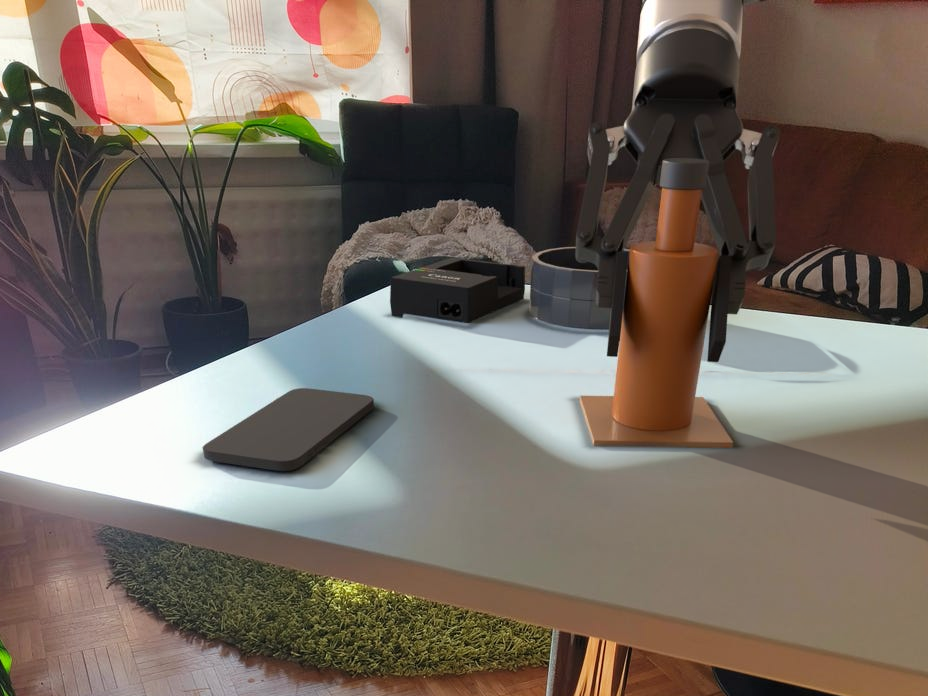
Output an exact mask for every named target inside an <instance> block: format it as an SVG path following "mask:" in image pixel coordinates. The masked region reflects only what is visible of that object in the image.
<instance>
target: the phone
mask: <svg viewBox="0 0 928 696" xmlns="http://www.w3.org/2000/svg"><path fill="white" fill-rule="evenodd" d="M374 408H375V399H374V397H372V396H370V395H367V394H359V393H351V392H344V391H343V392H342V391H334V390H326V389H316V388H307V387H299V388H298V387H297V388H293V389H290V390H289V391H287V392H285V393H284V394H282V395H281V396H279V397H277V398H276V399H275V400H273V401H271V402H270V403H268V404H267V405H265V406H263V407H262V408H260V409H259V410H257V411H256V412H254V413H252V414H250V415H249V416H247V417H246V418H244V419H243V420H241V421H240V422H237V423H236V424H234V425H233V426H231V427H230V428H228V429H227V430H226V431H224V432H222V433H220V434H219V435H217V436H215V437H214V438H212V439H211V440H209V441H208V442H207V443H205V444H204V445H203V446H202V453H203V458H204V459H205V460H208V461H209V462H214V463H220V464H221V463H222V464H229V465H236V466H242V467H250V468H256V469H263V470H271V471H280V472H289V471H294V470H297V469H299V468H300V467H302V466H303V465H304V464H306V463H307V462H309V460H311V459H312V458H314V456H316V455H317V454H318V453H319V452H321V451H322V450H323V449H325V448H326V447H327V446H328V445H330V444H331V443H332V442H333V441H335V440H336V439H337V438H339V437H340V436H341V435H342V434H343V433H345V432H346V431H348V429H350V428H351V427H353V425H354V424H357V422H359V421H360V420H362V418H364V417H365V416H366V415H367V414H369V413H370V412H371V411H373V409H374Z"/></svg>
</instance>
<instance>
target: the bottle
mask: <svg viewBox="0 0 928 696" xmlns="http://www.w3.org/2000/svg"><path fill="white" fill-rule="evenodd" d="M708 167H709V161H708V160H704V159H694V158H669V159H664V160H663V162H662V170H661V178H660V185H659V187H660V188H661V195H660V202H659V203H660V204H659V213H658V220H657V229H656V237H655V240H652V241H651V240H650V241H641V242H636V243H633V244H631V245H630V247H629V250H630V252H629V261H628V271H627V280H626V289H625V298H624V307H623V316H622V325H621V335H620V342H619V349H618V356H617V363H616V371H615V380H614V389H613V396H614V398H613V407H612V417H613V418H614V419H615V420H616V421H617V422H619V423H621V424H623V425H626V426H628V427H632V428H636V429H642V430H651V431H668V430H675V429H680V428H683V427H685V426H687V425H689V424H690V422H691V420H692V413H693V407H694V401H695V397H696V395H697V389H698V383H699V382H698V381H699V376H700V369H701V365H702V358H703V357H702V356H703V350H704V345H705V339H706V332H707V328H708V327H707V326H708V319H709V314H710V309H711V302H712V290H713V283H714V277H715V271H716V268H717V264H718V260H719V252H718V249H717V247H714V246H711V245H708V244H705V243H698V242H695V241H696V235H697V229H698V228H697V226H698V219H699V214H700V206H701V201H702V200H701V194H702V189H704V188H705V187H706V181H707V174H708Z"/></svg>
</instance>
